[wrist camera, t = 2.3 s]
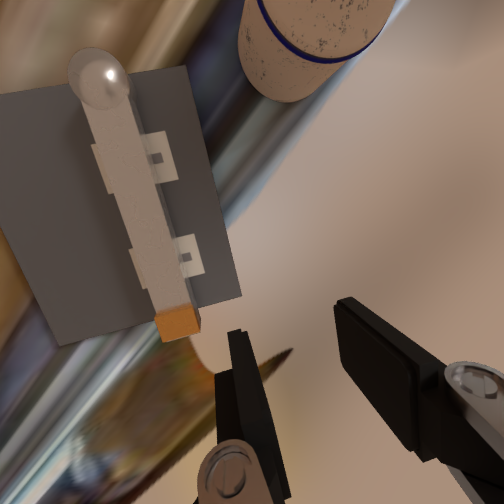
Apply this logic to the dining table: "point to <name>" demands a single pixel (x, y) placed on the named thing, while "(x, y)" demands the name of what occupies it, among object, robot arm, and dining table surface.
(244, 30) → the teacup with lid
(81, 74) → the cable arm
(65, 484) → the dining table surface
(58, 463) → the dining table surface
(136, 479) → the dining table surface
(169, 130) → the tray
